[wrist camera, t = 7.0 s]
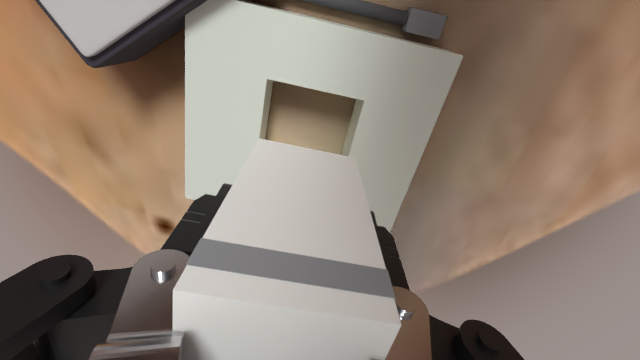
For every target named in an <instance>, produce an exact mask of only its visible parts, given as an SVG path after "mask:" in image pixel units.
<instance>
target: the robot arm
mask: <svg viewBox="0 0 640 360" xmlns="http://www.w3.org/2000/svg"><path fill="white" fill-rule="evenodd" d="M231 187H232V184H226V183H224V184H223V185H222V187H221V188H220V190H219V192H218V193H217V195H216V196H214V195H209V194H205V195H203V196H201V197H200V198H198V199H196V200H195V201H194V202H193V203H192V205H191V206H190V207H189V209H188V210H187V212H186V213H185V215H184V216H183V218H182V220H181V221H180V222H179V223H178V225H177V226H176V228H175V229H174V231H173V232H172V234H171V235H170V237H169V238H168V239H167V241H166V242H165V244H164V245H163V247H162V248H161V250H158V251H154V252H151V253H149V254H147V255H145V256H143V257H142V258H140V259H139V260H138V261H137V262H136V263H135V264H134V266H133V267H130V268H124V269H114V270H101V271H94V270H93V265H92V263H91V262H90V261H89V260H88V259H86V258H84V257H82V256H77V255H61V256H55V257H51V258H48V259H45V260H42V261H39V262H37V263H35V264H33V265H31V266H29V267H28V268H26V269H24V270H23V271H20V272H19V273H17V274H15V275H13V276H11V277H10V278H8V279H6V280H4V281H2V282H1V283H0V360H183V358H184V334H185V332H183V331H174V330H173V289H174V287H175V285H176V283H177V282H178V280H179V278H180V276H181V275H182V273H183V271H184V269H185V268H186V263H187V261H188V259H189V258H190V256H191V254H192V253H193V251H194V249H195V247H196V246H197V244H198V242H199V240H200V239H201V238H203V236H204V234H205V232H206V231H207V229H208V227H209V225H210V224H211V222H212V220H213V218H214V217H215V215H216V213H217V211H218V209H219V208H220V206H221V204H222V202H223V201H224V199H225V197H226V195H227V194H228V192H229V190H230V188H231ZM370 213H371V216H372V220H373V223H374V227H375V231H376V234H377V238H378V242H379V245H380V249H381V252H382V256H383V260H384V263H385V267H386V269H387V270H388V273H389V277H390V280H391V284H392V287H393V291H394V294H395V303H396V307H397V310H398V314H399V318H400V321H401V327H400V329H399V331H398V333H397V336H396V338H395V340H394V342H393V344H392V346H391V348H390V350H389V352H388V354H387V356H386V359H385V360H524V359H523V358H522V356H521V355H520V354H519V353H518V352H517V351H516V349H515V348H514V347H513V346H512V345H511V344H510V342H509V341H508V340H507V339H506V338H505V337H504V336H503V335H502V334H501V333H500V332H499V331H497V330H496V329H495V328H493V327H492V326H490V325H488V324H486V323H484V322H481V321H478V320H467V321H465V322H463V324H462V325H461V327H460V328H457V327H454V326H452V325H450V324H447V323H445V322H443V321H441V320H438V319H436V318H434V317H432V316H431V315H429V313H428V310H427V307H426V306H425V304H424V303H423V301H422V300H421V299H420V298H419V297H418V296H417V295H416V294H414V293H413V292H411V291H410V289H409V286H408V283H407V280H406V277H405V273H404V270H403V267H402V264H401V260H400V259H399V254H398V251H397V250H396V244H395V241H394V238H393V236H392V235H391V234H390V233H389V231H388V230H387V229H386V228H385V227H382V226H377V223H376V219H375V215H374V212H373V211H370ZM371 360H379V359H373V358H371Z"/></svg>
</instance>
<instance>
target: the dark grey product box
mask: <svg viewBox="0 0 640 360" xmlns="http://www.w3.org/2000/svg"><path fill="white" fill-rule="evenodd" d="M206 1H207V0H36V2H37V3H38V4H39V5H40V7H41V8H42V9H43V10H44V12H45V13H46V14H47V15H48V17H49V18H50V19H51V20H52V22H53V23H54V24H55V25H56V27H57V28H58V29H59V30H60V32H61V33H62V34H63V35H64V37H65V38H66V39H67V40H68V42H69V43H70V44H71V45H72V47H73V48H74V49H75V50H76V52H77V53H78V54H79V55H80V57H81V58H82V59H83V60H84V61H85V62H86V64H87V65H89V66H90V67H93V68H99V67H105V66H109V65H114V64H119V63H124V62H128V61H133V60H136V59H138V58H139V57H141V56H143V55H144V54H146V53H147V52H149V51H150V50H152V49H153V48H155V47H156V46H158V45H159V44H161V43H162V42H164V41H165V40H167V39H168V38H170V37H172V36H173V35H175V34H176V33H178V32H179V31H181V30H182V29H184V28H185V15H186V14H188V13H189V12H191V11H192V10H194V9H195V8H197V7H198V6H200V5H201V4H203V3H204V2H206Z"/></svg>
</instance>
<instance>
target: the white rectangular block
mask: <svg viewBox="0 0 640 360" xmlns="http://www.w3.org/2000/svg"><path fill="white" fill-rule="evenodd" d="M400 327H401V321H400V318H399V314H398V310H397V307H396V303H395V294H394V291H393V287H392V284H391V280H390V277H389V273H388V270H387V269H386V267H385V263H384V260H383V256H382V252H381V249H380V245H379V242H378V238H377V234H376V231H375V227H374V223H373V220H372V216H371V213H370V209H369V205H368V202H367V198H366V194H365V191H364V187H363V184H362V180H361V176H360V173H359V169H358V165H357V162H356V158H353V157H349V156H344V155H339V154H334V153H329V152H324V151H319V150H314V149H309V148H304V147H299V146H294V145H289V144H284V143H279V142H274V141H270V140H265V139H260V138H259V139H258V141H257V142H256V144H255V146H254V148H253V150H252V151H251V153H250V155H249V157H248V158H247V160H246V162H245V164H244V165H243V167H242V169H241V171H240V172H239V174H238V176H237V178H236V179H235V181H234V183H233V185H232V187H231V188H230V190H229V192H228V194H227V195H226V197H225V199H224V201H223V202H222V204H221V206H220V208H219V209H218V211H217V213H216V215H215V217H214V218H213V220H212V222H211V224H210V225H209V227H208V229H207V231H206V232H205V234H204V236H203V238H201V239H200V240H199V242H198V244H197V246H196V247H195V249H194V251H193V253H192V254H191V256H190V258H189V259H188V261H187V263H186V268H185V269H184V271H183V273H182V275H181V276H180V278H179V280H178V282H177V283H176V285H175V287H174V289H173V330H174V331H183V332H185V334H184V358H183V360H371V358H373V359H379V360H385V359H386V356H387V354H388V352H389V350H390V348H391V346H392V344H393V342H394V340H395V338H396V336H397V333H398V331H399V329H400Z"/></svg>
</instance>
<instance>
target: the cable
mask: <svg viewBox="0 0 640 360" xmlns="http://www.w3.org/2000/svg"><path fill="white" fill-rule="evenodd" d="M301 1H305V2H309V3H313V4H317V5H321V6H325V7H329V8H333V9H337V10H341V11H345V12H349V13H353V14H357V15H361V16H365V17H370V18H374V19H378V20H382V21H386V22H390V23H394V24H398V25H403V27H402V30H401V31H405V32H409V33H413V34H417V35H421V36H425V37H429V38H433V39H437V40H439V38H440V35H441V33H442V30H443V27H444V25H445V22H446V19H447V17H448V16H444V15H441V14H437V13H433V12H429V11H425V10H421V9H417V8H413V7H409V8H408V11H407V12H405V11H401V10H397V9H393V8H389V7H385V6H381V5H377V4H373V3H369V2H365V1H362V0H301Z"/></svg>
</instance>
